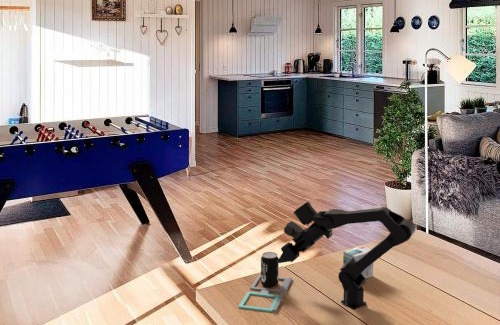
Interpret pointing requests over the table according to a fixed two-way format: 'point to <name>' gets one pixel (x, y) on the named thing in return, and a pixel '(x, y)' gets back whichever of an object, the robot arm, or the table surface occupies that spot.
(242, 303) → the teal square frame
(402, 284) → the table surface
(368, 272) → the light bulb box
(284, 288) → the strip
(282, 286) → the grey square frame
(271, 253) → the beverage can
